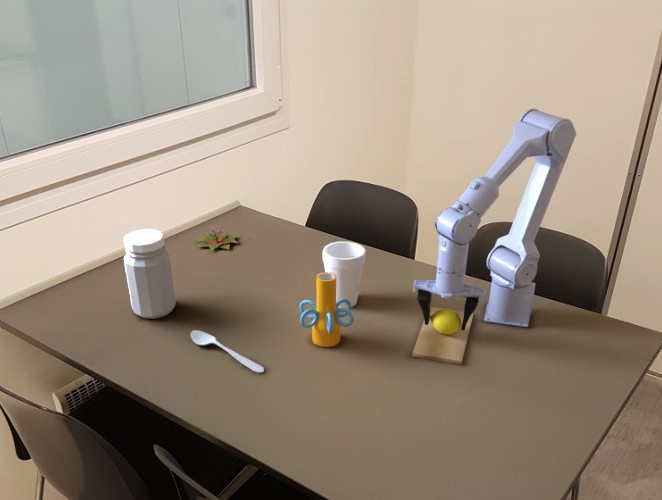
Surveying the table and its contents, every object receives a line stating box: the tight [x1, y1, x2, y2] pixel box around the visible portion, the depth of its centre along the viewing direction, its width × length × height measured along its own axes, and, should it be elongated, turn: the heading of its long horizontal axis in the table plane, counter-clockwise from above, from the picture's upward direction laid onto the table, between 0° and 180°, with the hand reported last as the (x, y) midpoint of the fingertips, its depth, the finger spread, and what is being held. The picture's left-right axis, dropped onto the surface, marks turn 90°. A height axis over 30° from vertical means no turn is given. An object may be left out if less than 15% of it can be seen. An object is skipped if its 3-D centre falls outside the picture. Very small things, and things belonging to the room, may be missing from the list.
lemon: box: [430, 307, 461, 334], centre depth 147 cm, size 7×5×5 cm
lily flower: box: [196, 225, 239, 252], centre depth 187 cm, size 12×12×5 cm
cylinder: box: [299, 271, 355, 348], centre depth 143 cm, size 12×10×15 cm
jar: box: [123, 228, 177, 320], centre depth 153 cm, size 10×10×18 cm
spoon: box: [190, 329, 265, 374], centre depth 142 cm, size 4×21×2 cm, turn 50°
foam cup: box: [322, 241, 367, 309], centre depth 158 cm, size 10×9×13 cm
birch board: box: [411, 306, 474, 365], centre depth 148 cm, size 10×20×1 cm, turn 163°
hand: (445, 325), depth 147 cm, fingers open, 7 cm apart
